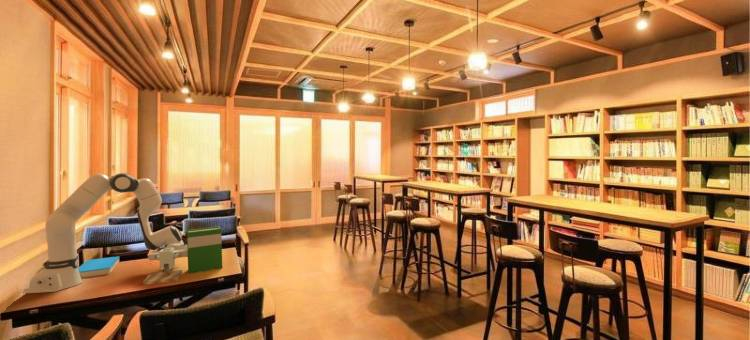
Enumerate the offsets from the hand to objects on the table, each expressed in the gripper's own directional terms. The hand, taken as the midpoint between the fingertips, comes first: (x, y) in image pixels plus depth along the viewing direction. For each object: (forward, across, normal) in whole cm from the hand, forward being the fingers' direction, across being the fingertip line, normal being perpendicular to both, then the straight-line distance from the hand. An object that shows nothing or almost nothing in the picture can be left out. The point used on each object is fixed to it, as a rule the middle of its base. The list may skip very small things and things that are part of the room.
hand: (166, 258), depth 186 cm
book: (-32, -43, +12) cm, 54 cm away
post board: (-1, -2, +11) cm, 11 cm away
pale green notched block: (-1, 0, +6) cm, 6 cm away
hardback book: (-9, +18, +12) cm, 23 cm away
